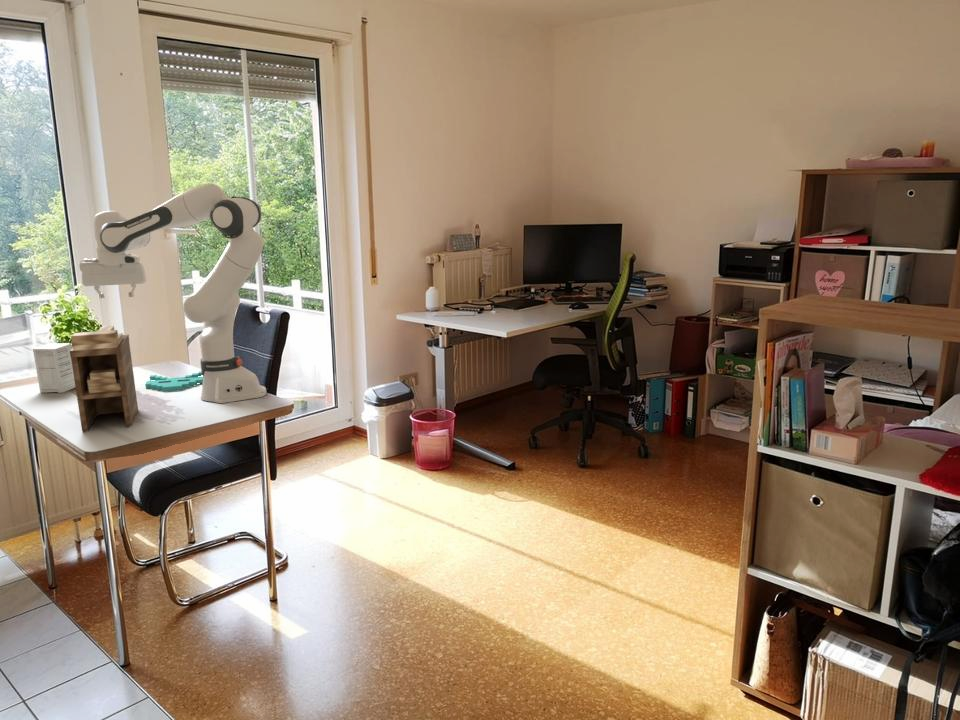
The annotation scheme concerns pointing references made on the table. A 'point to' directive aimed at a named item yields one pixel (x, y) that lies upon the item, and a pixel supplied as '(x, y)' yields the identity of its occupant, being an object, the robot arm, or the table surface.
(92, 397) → the walnut shelf
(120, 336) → the plywood board
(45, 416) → the table surface
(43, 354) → the supplement box
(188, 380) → the alien figure
